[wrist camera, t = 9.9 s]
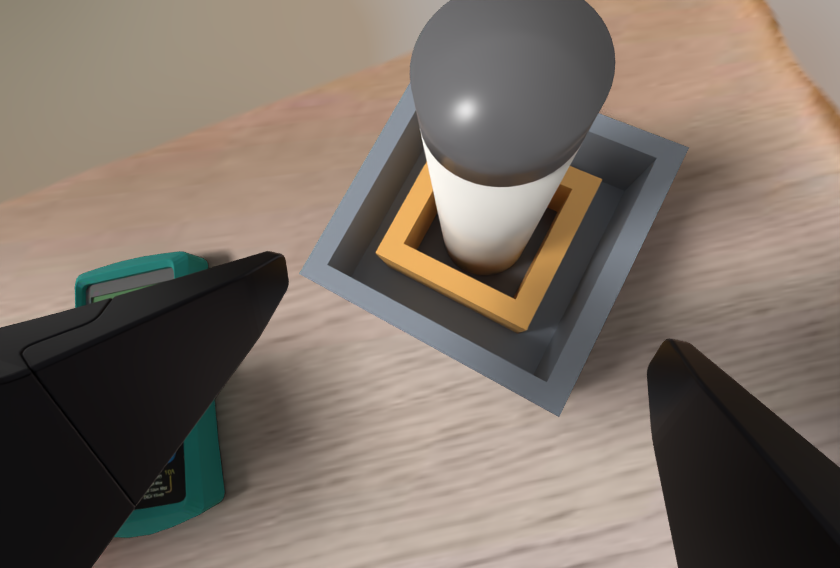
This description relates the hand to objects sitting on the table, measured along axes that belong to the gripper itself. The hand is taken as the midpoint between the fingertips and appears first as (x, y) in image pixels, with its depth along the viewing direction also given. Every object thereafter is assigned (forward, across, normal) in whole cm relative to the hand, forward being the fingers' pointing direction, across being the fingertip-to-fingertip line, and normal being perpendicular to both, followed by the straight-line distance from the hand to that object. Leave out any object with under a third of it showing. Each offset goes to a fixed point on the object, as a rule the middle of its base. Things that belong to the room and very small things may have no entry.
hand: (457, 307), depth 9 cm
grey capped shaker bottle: (+12, 0, +4) cm, 12 cm away
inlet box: (+12, 0, +5) cm, 13 cm away
